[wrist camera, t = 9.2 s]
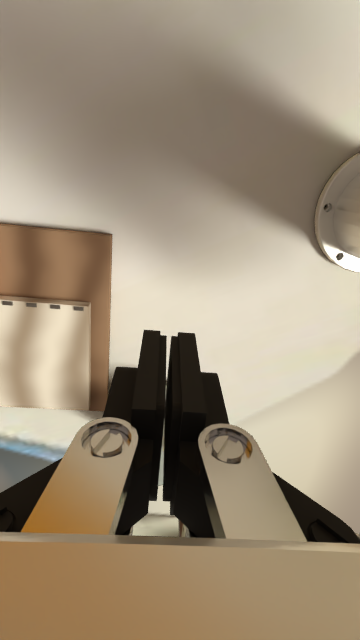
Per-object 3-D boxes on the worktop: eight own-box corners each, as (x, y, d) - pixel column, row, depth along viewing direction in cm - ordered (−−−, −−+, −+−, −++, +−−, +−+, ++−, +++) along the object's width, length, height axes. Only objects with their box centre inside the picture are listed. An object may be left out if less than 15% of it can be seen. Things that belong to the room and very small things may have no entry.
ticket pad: (112, 234, 35) (108, 239, 33) (107, 405, 44) (105, 418, 42) (-73, 216, 33) (-90, 219, 31) (-39, 398, 42) (-50, 411, 40)
